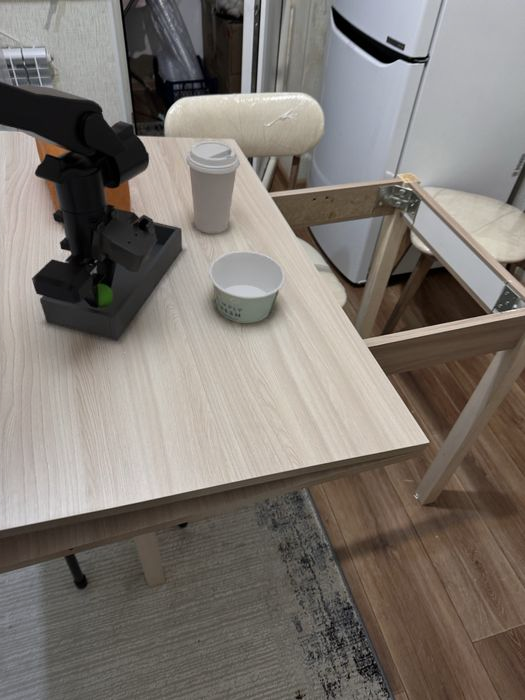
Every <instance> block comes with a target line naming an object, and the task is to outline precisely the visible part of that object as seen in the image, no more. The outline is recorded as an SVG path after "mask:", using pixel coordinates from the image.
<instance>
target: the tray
mask: <svg viewBox="0 0 525 700" xmlns="http://www.w3.org/2000/svg"><path fill="white" fill-rule="evenodd" d="M153 223H154V228H155V234H156V238H157V242H156V243H155V244H154V245H153V247H152V250H151V253H150V256H149V258H148V260H147V261H146V262H145V263H144V264H143V266H142V267H141V269H140V270H139V271H138V272H130V271H128V270H127V269H126V268H125V267H123V266H121V265H120V264H118V263H116V268H115V272H114V277H113V282H112V287H111V290H112V292H113V300H112V302H111V303H110V304H109V305H108V306H106V307H103V308H99V307H98V308H94V307H91V306H90V305H89V304H88V303H87V302H86V301H85V300H84V299H83V300H82V301H81V302H79V303H75V304H74V303H70V302H66V301H62V300H58V299H54V298H50V297H46V296H43V295H41V297H40V298H39V301H40V305H41V308H42V311H43V315H44V318H45V322H46V323H48V324H52V325H56V326H61V327H64V328H68V329H72V330H75V331H78V332H83V333H87V334H90V335H94V336H98V337H101V338H106V339H109V340H113V341H117V342H119V340H120V339H121V337H122V336H123V334H124V333H125V332H126V330H127V329H128V327H129V326H130V325H131V323H132V321H134V319H135V317H136V316H137V314H138V313H139V311H140V310H141V309H142V307H143V305H145V304H146V301H147V300H148V299H149V297H150V295H152V293H153V291H154V290H155V289H156V287H157V286H158V285H159V283H160V282H161V281H162V280H163V277H164V276H165V275H166V273H167V272H168V271H169V269H170V267H171V266H172V265H173V263H174V261H175V260H176V259H177V257H178V256H179V255H180V253H181V252H182V251H183V242H182V241H183V239H182V238H183V237H182V228H181V227H177V226H173V225H169V224H165V223H160V222H156V221H153Z"/></svg>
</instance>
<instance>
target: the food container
mask: <svg viewBox="0 0 525 700" xmlns="http://www.w3.org/2000/svg"><path fill="white" fill-rule="evenodd" d="M208 278H209V280H210V282H211V284H212V286H213V293H214V297H215V303H216V308H217V310H218V312H219V313H220V314H221V315H222V316H223V317H224V318H226V319H227V320H230V321H232V322H236V323H239V324H253V323H258V322H261V321H263V320H265V319H266V318H267V317H268V316H270V314H271V313H272V310H273V307H274V305H275V302H276V299H277V297H278V295H279V292H280V290H281V289H282V288H283V286H284V285H285V282H286V272H285V270H284V268H283V266H282V265H281V264H280V263H279V262H278V261H277V260H276V259H274V258H272V257H271V256H268V255H266V254H264V253H261V252H257V251H250V250H237V251H236V250H235V251H230V252H226V253H224V254H222V255H219V256H218V257H217V258H215V259H214V260H213V261H212V262H211V263H210V265H209V267H208Z"/></svg>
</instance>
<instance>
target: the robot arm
mask: <svg viewBox="0 0 525 700" xmlns="http://www.w3.org/2000/svg"><path fill="white" fill-rule="evenodd" d="M103 111H104V110H103V108H102V106H101V105H100V104H99V103H98V102H96V101H94V100H92V99H89V98H85V97H82V96H79V95H75V94H72V93H69V92H66V91H63V90H60V89H56V88H52V87H49V86H39V85H32V84H31V85H30V84H29V85H28V84H25V85H11V84H8V83H6V82H3V81H0V126H5V127H9V128H13V129H17V130H18V131H20V132H21V133H23V134H25V135H27V136H30V137H32V138H34V139H35V138H36V139H38V140H40V141H42V142H45V143H48V144H51V145H54V146H57V147H60V148H63V149H66V150H68V151H67V152H65V153H63V154H61V155H59V156H57V157H55V156H52V155H49V154H46V155H45V158H44V160H43V162H42V163H41V162H40V163H39V164H38V166H37V167H36V169H35V171H34V175H35V177H37V178H40V179H43V180H45V181H46V180H48V181H51V182H53V183H54V186H55V191H56V195H57V200H58V204H59V209H58V210H57V211H56V210H55V211H54V213H52V216H53V220H54V222H56V223H60V224H62V223H63V224H62V226H63V231H64V235H65V237H64V238H63V239H62V240H61V241H60V242H59V245H60V249H61V250H63V251H66V252H67V251H68V252H70V255H69V256H68V257H67V258H66V259H65V260H64V261H61V260H56V259H50V260H49V261H48V262H47V263H46V264H45V265H44V266H43V267H42V268H40V270H39V271H38V272H37V273H35V274H34V276H32V277H31V281H32V284H33V285H32V286H33V288H34V291H35V294H36V295H39V296H46V297H50V298H54V299H58V300H62V301H66V302H70V303H74V304H75V303H79V302H81V301H82V300H83V299H84V300H85V301H86V302H87V303H88V304H89V305H90V306H91V307H94V308H98V306H99V295H98V284H105V285H107V286H108V287H110V289H111V287H112V282H113V277H114V272H115V268H116V263H118V264H120V265H121V266H123V267H125V268H126V269H127V270H128V271H130V272H138V271H139V270H140V269H141V267H142V266H143V264H144V263H145V262H146V261H147V260H148V258H149V256H150V253H151V250H152V247H153V245H154V244H155V243H156V242H157V238H156V234H155V228H154V223H153V222H154V219H153V218H151V217H149V216H147V215H145V214H142V215H141V216H138V215H137V213H136V212H133V211H131V212H129V211H125V210H120V209H116V208H114V206H113V205H109V204H107V199H106V192H105V187H107V188H112V189H114V188H117V187H119V186H121V185H122V184H124V183H125V182H127V181H128V182H129V181H130V180H133V178H135V177H137V176H139V175H140V174H143V173H144V172H146V170H147V169H148V167H149V164H150V155H149V152H148V150H147V148H146V146H145V144H144V142H143V141H142V140H141V138H140V137H139V136H138V135H137V134H136V133H135V127H134V125H133V124H132V123H128V122H125V121H122V120H119V121H117V122H116V123H114V124H113V125H112V126H110V124H109V123H108V122H107V120H106V119H105V117H104V114H103Z"/></svg>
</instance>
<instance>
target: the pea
mask: <svg viewBox="0 0 525 700" xmlns="http://www.w3.org/2000/svg"><path fill="white" fill-rule="evenodd" d="M98 295H99V306H98V307H99V308H103V307H106V306H108V305H109V304H110V303H111V302H112V300H113V292H112V290H111V289H110V287H108V286H107V285H105V284H98Z"/></svg>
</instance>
